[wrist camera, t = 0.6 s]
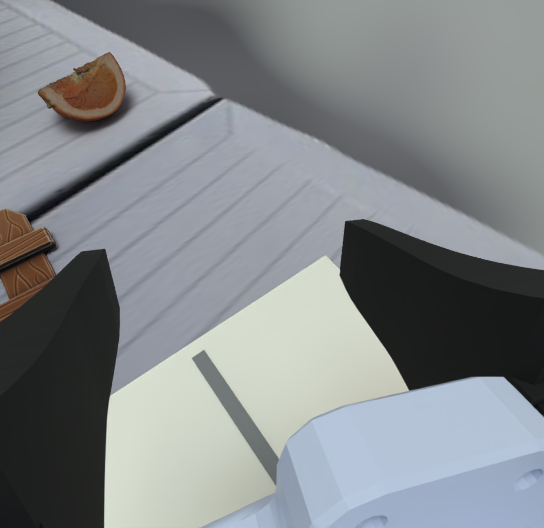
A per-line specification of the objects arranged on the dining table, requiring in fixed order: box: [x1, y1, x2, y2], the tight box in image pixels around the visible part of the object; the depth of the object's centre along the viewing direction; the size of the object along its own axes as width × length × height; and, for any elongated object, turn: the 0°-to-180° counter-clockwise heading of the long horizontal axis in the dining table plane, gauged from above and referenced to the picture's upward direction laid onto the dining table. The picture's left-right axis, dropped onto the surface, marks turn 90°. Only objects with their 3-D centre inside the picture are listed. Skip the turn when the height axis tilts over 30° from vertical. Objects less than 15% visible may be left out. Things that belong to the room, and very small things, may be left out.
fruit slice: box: [38, 52, 126, 121], centre depth 41 cm, size 8×7×5 cm
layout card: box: [104, 255, 409, 528], centre depth 24 cm, size 20×22×1 cm
